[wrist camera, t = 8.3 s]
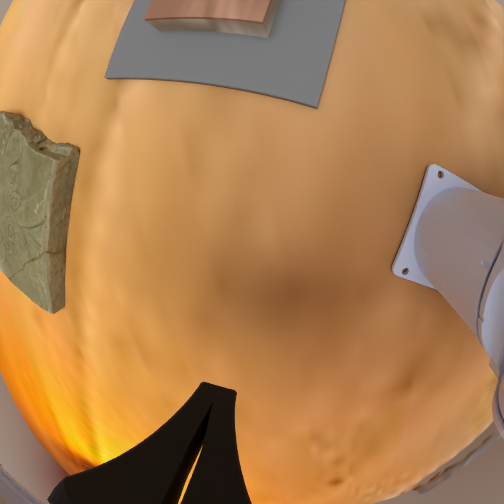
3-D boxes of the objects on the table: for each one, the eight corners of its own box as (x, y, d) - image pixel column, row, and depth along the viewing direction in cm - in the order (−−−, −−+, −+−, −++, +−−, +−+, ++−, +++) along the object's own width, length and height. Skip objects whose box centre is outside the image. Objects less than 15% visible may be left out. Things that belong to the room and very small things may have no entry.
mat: (351, -28, 10) (352, -32, 10) (316, 108, 15) (316, 107, 14) (160, -40, 11) (158, -42, 11) (108, 79, 16) (104, 77, 16)
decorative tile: (67, 307, 25) (47, 322, 22) (-12, 234, 25) (-29, 242, 22) (93, 134, 18) (63, 134, 15) (2, 105, 19) (-19, 106, 15)
